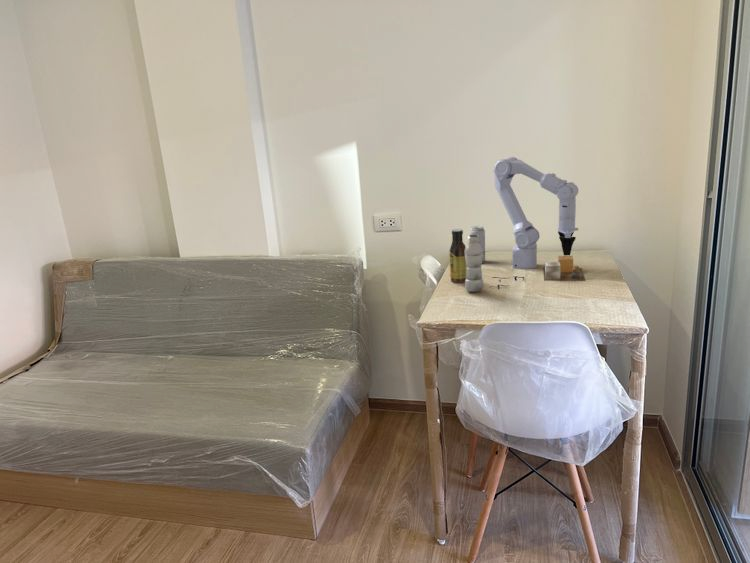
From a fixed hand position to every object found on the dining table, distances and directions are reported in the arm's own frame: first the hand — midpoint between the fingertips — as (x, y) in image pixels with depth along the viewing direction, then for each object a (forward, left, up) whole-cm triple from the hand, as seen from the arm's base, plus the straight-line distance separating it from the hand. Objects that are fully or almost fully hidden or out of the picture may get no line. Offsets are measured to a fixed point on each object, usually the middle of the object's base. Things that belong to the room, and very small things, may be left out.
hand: (566, 252), depth 202 cm
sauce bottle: (-39, -11, -8) cm, 41 cm away
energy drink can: (-34, +16, -8) cm, 39 cm away
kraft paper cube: (0, 0, -7) cm, 7 cm away
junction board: (-1, -5, -8) cm, 9 cm away
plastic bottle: (-32, -23, -8) cm, 40 cm away
